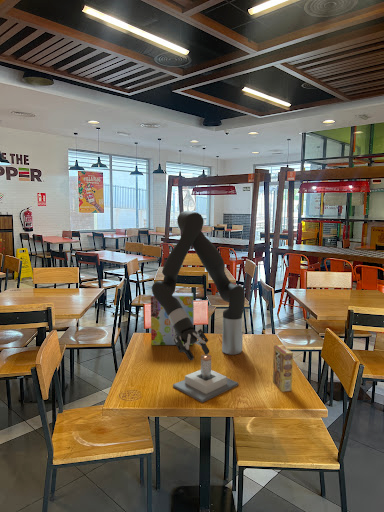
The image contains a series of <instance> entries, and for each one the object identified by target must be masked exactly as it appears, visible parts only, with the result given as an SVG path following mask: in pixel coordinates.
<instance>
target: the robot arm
mask: <svg viewBox="0 0 384 512" xmlns="http://www.w3.org/2000/svg"><path fill="white" fill-rule="evenodd" d="M177 226H178V229H180V231H181V236H180V238H179V240H178V242H177V243H176V244H175V246H174V247H173V248H172V249H171V251H170V252H169V255H168V256H167V258H166V260H165V262H164V265H163V266H162V269H161V273H162V275H163V280H156V281H155V282H153V284H152V286H151V294H152V293H153V295H154V297H155V298H156V299H157V301H158V302H159V303H160V304H161V305H162V307H163V308H164V309H165V311H166V313H167V315H168V317H169V319H170V322H171V324H172V326H173V328H174V329H175V331H176V333H177V335H178V336H177V337H176V338H175V339H174V341H175V344H176V345H175V346H176V348H177V349H178V352H179V353H184V354H185V355H186V358H187V359H188V360H189V362H192V361H193V360H194V359H195V356H194V355H193V353H192V351H191V349H190V346H192V345H191V344H193V345H194V344H196V345H198V346H200V348H201V349H202V351H203V353H204V355H205V354H207V355H209V354H210V349H209V347H208V345H207V343H208V341H209V339H208V338H207V336H206V333H204V331H203V330H202V329H201V328H200V329H198V330H195V326H193V324H192V322H191V320H190V319H189V317H188V315H187V313H186V312H185V311H184V309H183V308H182V306H181V304H180V302H179V301H178V300H177V299H176V298H174V297H173V296H172V295H173V293H175V291H176V288H177V287H176V286H177V280H178V275H179V273H180V271H181V269H182V266H183V263H184V261H185V259H186V256H187V255H188V253H189V251H190V250H191V248H193V250H194V252H195V253H196V255H197V257H198V258H199V260H200V262H201V264H202V265H203V268H205V271H206V272H207V273H208V275H209V276H210V278H211V280H212V281H213V283H214V285H215V287H216V290H217V291H218V293H219V296H220V298H221V299H222V300H223V301H225V302H227V303H228V308H227V309H224V310H223V311H222V333H221V334H222V338H221V339H222V341H221V342H222V343H221V344H222V345H221V351H222V353H223V354H226V355H231V356H233V355H239V354H241V353H242V351H243V342H244V341H243V337H244V336H243V335H244V334H243V333H244V332H243V329H242V328H243V314H244V310H245V301H246V292H245V289H244V287H243V286H241V285H238V284H235V283H233V282H231V281H230V279H229V278H228V276H227V274H226V271H225V261H224V258H223V257H222V255H221V253H220V251H219V250H218V248H217V247H216V246H215V244H213V243H212V241H210V239H208V237H206V235H205V234H204V233H203V231H202V228H203V226H204V219H203V216H202V214H200V212H196V211H190V210H184V211H181V212H180V213H179V214H178V216H177ZM182 341H183V344H182Z"/></svg>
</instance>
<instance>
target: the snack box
mask: <svg viewBox="0 0 384 512" xmlns="http://www.w3.org/2000/svg"><path fill="white" fill-rule="evenodd" d="M172 296H173V297H174V298H176V299H177V300H178V301H179V302H180V304H181V306H182V308H183V309H184V311H185V312H186V313H187V315H188V317H189V319H190V320H191V322H192V324H193V326H194V325H195V324H194V321H195V320H194V319H195V318H194V316H195V315H194V313H195V312H194V310H195V309H194V307H195V306H194V293H193V292H174V293H173V295H172ZM194 327H195V326H194ZM150 335H151V336H150V339H151V340H150V341H151V345H150V346H176V344H175V341H174V339H175V338H176V337H177V336H178V335H177V333H176V331H175V329H174V328H173V326H172V324H171V322H170V319H169V317H168V315H167V313H166V311H165V309H164V308H163V307H162V305H161V304H160V303H159V302H158V301H157V299H156V298H155V297H154V295H153V293H152V292H151V295H150ZM182 344H183V341H182ZM193 345H194V344H191V345H190V346H193Z"/></svg>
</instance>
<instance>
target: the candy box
mask: <svg viewBox="0 0 384 512" xmlns="http://www.w3.org/2000/svg"><path fill="white" fill-rule="evenodd" d="M293 359H294V352H293V351H291V350H290V349H289V348H287V347H286V346H285V345H283V344H278V345H276V344H275V345H273V365H272V367H273V369H272V374H273V375H272V383H273V384H275V386H276V387H277V388H278V390H280V392H283V393H285V392H292V389H293V386H292V385H293V365H294V364H293V362H294V360H293Z"/></svg>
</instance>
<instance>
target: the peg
mask: <svg viewBox="0 0 384 512" xmlns="http://www.w3.org/2000/svg"><path fill="white" fill-rule="evenodd" d="M200 370H201V379H203V380H205V381H207V380H209V379H211V370H212V355H211V354H205V353H204V354H202V355H200Z"/></svg>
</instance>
